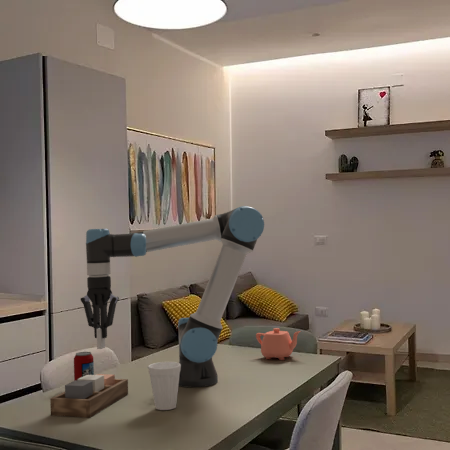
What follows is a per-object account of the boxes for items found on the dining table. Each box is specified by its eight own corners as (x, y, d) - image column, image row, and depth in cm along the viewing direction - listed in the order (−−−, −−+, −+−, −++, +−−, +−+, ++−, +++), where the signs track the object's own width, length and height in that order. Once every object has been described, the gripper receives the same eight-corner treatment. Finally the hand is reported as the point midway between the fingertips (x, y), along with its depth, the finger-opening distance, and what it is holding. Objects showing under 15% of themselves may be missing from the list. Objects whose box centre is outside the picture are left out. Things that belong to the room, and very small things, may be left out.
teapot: (297, 362, 245) (296, 332, 245) (250, 359, 253) (249, 330, 253) (307, 356, 257) (306, 326, 257) (262, 353, 265) (261, 325, 265)
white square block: (104, 387, 195) (103, 375, 196) (95, 392, 190) (94, 379, 190) (87, 387, 197) (86, 374, 197) (77, 392, 191) (77, 379, 191)
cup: (169, 414, 180) (167, 370, 180) (142, 410, 185) (141, 367, 185) (188, 406, 188) (187, 363, 188) (162, 402, 193) (161, 360, 194)
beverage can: (89, 390, 211) (88, 355, 211) (71, 389, 213) (70, 355, 213) (97, 385, 218) (96, 351, 218) (79, 384, 219) (78, 351, 219)
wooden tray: (128, 394, 204) (127, 379, 204) (90, 417, 179) (89, 400, 179) (92, 392, 208) (92, 377, 208) (50, 415, 183) (50, 398, 183)
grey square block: (92, 394, 188) (92, 381, 188) (83, 399, 183) (82, 386, 183) (75, 393, 190) (75, 380, 190) (65, 398, 184) (64, 385, 184)
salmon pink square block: (115, 386, 203) (114, 374, 203) (106, 391, 197) (106, 378, 197) (98, 386, 204) (98, 373, 204) (89, 390, 199) (89, 378, 199)
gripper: (122, 274, 203) (124, 346, 202) (86, 275, 206) (88, 345, 206) (111, 276, 195) (114, 350, 195) (75, 277, 199) (77, 350, 199)
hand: (101, 348), depth 201 cm, fingers closed
